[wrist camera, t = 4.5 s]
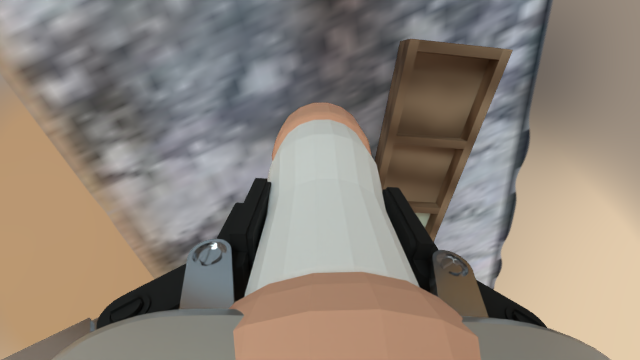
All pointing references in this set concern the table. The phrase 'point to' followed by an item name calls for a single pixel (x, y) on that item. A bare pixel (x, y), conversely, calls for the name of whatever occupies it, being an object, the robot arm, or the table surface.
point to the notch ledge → (435, 120)
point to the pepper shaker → (337, 260)
